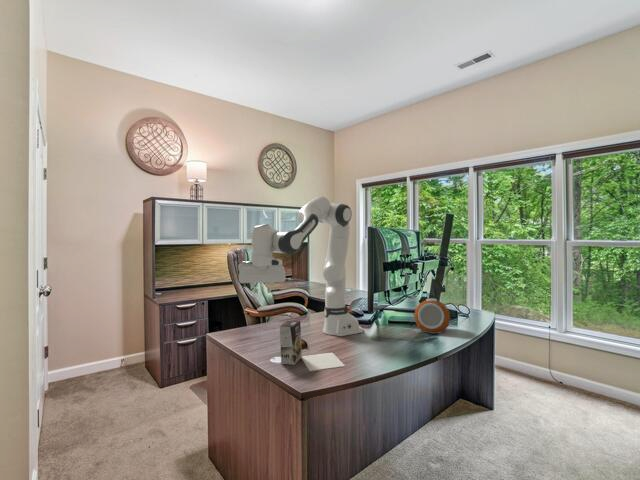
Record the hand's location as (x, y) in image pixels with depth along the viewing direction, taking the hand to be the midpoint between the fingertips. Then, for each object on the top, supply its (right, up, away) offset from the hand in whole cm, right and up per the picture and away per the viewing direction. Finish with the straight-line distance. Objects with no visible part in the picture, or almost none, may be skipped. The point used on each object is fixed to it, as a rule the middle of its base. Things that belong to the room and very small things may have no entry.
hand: (262, 292), depth 144 cm
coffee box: (+13, -29, -3) cm, 32 cm away
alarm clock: (+88, -28, +40) cm, 100 cm away
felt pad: (+26, -29, -4) cm, 39 cm away
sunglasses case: (+12, -29, +20) cm, 37 cm away
